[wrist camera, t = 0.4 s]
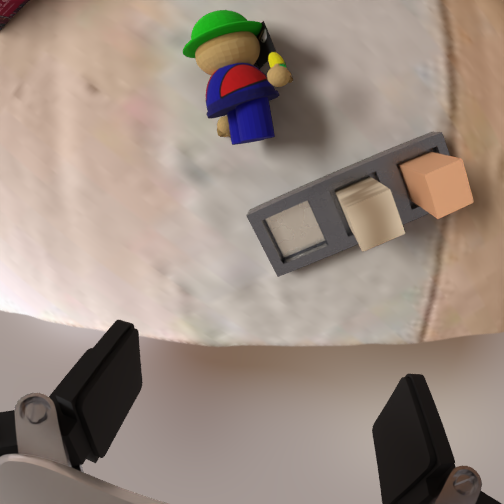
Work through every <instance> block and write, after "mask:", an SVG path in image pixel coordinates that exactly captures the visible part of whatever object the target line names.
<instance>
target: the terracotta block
mask: <svg viewBox="0 0 504 504" xmlns="http://www.w3.org/2000/svg"><path fill="white" fill-rule="evenodd" d="M398 167H399V169H400V172H401V175H402V177H403V180H404V183H405V186H406V189H407V192H408V195H409V198H410V200H411V201H412V202H414V203H415V204H417V205H418V206H420V207H421V208H423V209H424V210H426V211H427V212H428V213H430V214H431V215H433V216H434V217H436V218H437V219H439V218H441V217H443V216H446V215H448V214H450V213H452V212H454V211H457V210H459V209H461V208H463V207H465V206H467V205H469V204H472V203H474V201H473V197H472V193H471V189H470V185H469V181H468V178H467V174H466V171H465V167H464V164H463V160H462V159H461V158H457V157H452V156H448V155H443V154H439V153H434V152H427V153H425V154H422V155H420V156H418V157H415V158H413V159H410V160H408V161H405V162H403V163H401V164H398Z"/></svg>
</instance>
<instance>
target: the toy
mask: <svg viewBox="0 0 504 504" xmlns="http://www.w3.org/2000/svg"><path fill="white" fill-rule="evenodd" d="M183 54H184V55H185V56H186V57H190V58H196V62H197V64H198V66H199V67H200V68H201V69H202V70H203V71H204V72H206V73H207V74H209V75H212V76H211V77H210V80H209V82H208V85H207V89H206V105H207V110H208V112H207V116H208V118H216V117H220V116H223V117H221V118H220V119H219V120H218V123H217V127H218V128H217V133H218V136H220V137H227V136H229V137H230V136H231V141H232V145H235V144H242V143H249V142H255V141H260V140H264V139H267V138H272V137H275V135H274V129H273V123H272V117H271V111H270V106H269V101H270V100H273V99H275V98H277V97H278V96H279V93H278V91H277V90H275V89H274V87H273V86H276V87H281V86H284V85H286V84H287V83H291V82H292V81H293V78H292V77H291V73H290V72H289V71H288V69H287V68H286V64H285V62H284V60H283V58H282V57H281V56H280V55H279V54H278V53H276V50H275V48H274V45H273V43H272V40H271V38H270V35H269V33H268V30H267V28H266V26H265V23H264V21H263V22H262V23H260V22H255V21H247V19H246V18H244V17H243V16H242V15H240V14H239V13H236V12H233V11H228V10H220V11H214V12H211V13H209V14H207V15H205V16H203V17H202V18H201V19H200V20H199V21H198V22H197V23H196V24H195V26H194V28H193V31H192V35H191V40H190V41H189V42H188V43H187V44H186V45H185V47H184V49H183ZM267 61H269V65H270V68H271V69H270V70H269V71H268V73H267V76H266V75H265V74H264V73H263V72H262V71H261V70H259V69H260V68H261V67H262V66H263V65H264V64H265V63H266V62H267ZM255 62H256V63H257V66H258V68H259V69H258V68H257V67H255V66H253V65H254V63H255ZM225 115H227V116H225Z"/></svg>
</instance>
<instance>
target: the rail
mask: <svg viewBox="0 0 504 504" xmlns="http://www.w3.org/2000/svg"><path fill="white" fill-rule="evenodd" d="M427 152H434V153H439V154H443V155H448V156H450V154H449V151H448V148H447V145H446V143H445V140H444V137H443V134H442V132H431V133H428V134H426V135H423V136H420V137H418V138H415V139H413V140H410V141H408V142H405V143H403V144H400V145H398V146H395V147H393V148H391V149H388V150H386V151H383V152H381V153H378V154H376V155H373V156H371V157H369V158H366V159H364V160H361V161H359V162H357V163H354V164H352V165H350V166H347V167H345V168H343V169H340V170H338V171H336V172H333V173H331V174H329V175H326V176H324V177H322V178H319V179H317V180H315V181H313V182H310V183H308V184H306V185H303V186H301V187H299V188H297V189H294V190H292V191H290V192H288V193H286V194H283V195H281V196H279V197H277V198H274V199H272V200H270V201H268V202H266V203H263V204H261V205H259V206H257V207H255V208H253V209H250V210H249V212H248V214H247V218H248V220H249V221H250V223H251V225H252V227H253V229H254V231H255V233H256V235H257V237H258V239H259V241H260V243H261V245H262V247H263V249H264V251H265V253H266V255H267V257H268V259H269V261H270V263H271V264H272V266H273V268H274V270H275V272H276V274H277V276H278V277H279V276H281V275H284V274H286V273H289V272H291V271H294V270H296V269H299V268H301V267H304V266H306V265H309V264H311V263H314V262H316V261H318V260H321V259H323V258H326V257H328V256H331V255H333V254H335V253H338V252H340V251H343V250H345V249H347V248H350V247H352V246H355V245H357V244H358V242H357V240H356V238H355V236H354V234H353V233H352V231H351V229H350V227H349V225H348V222H347V220H346V217H345V215H344V212H343V210H342V208H341V205H340V203H339V200H338V198H337V196H336V193H335V191H337V190H339V189H341V188H344V187H346V186H348V185H351V184H353V183H355V182H358V181H360V180H362V179H365V178H367V177H372V178H373V179H375V180H377V181H378V182H380V183H381V184H383V185H384V186H386V187H388V188H389V189H390V190H391V193H392V196H393V198H394V201H395V204H396V207H397V210H398V213H399V216H400V219H401V222H402V225H404V224H406V223H408V222H410V221H413V220H415V219H417V218H420V217H422V216H424V215H426V214H429V213H428V212H427V211H426V210H424V209H423V208H421V207H420V206H418V205H417V204H415V203H414V202H412V201H411V200H410V198H409V195H408V192H407V189H406V186H405V183H404V180H403V177H402V175H401V172H400V169H399V167H398V164H401V163H403V162H405V161H408V160H410V159H413V158H415V157H418V156H420V155H422V154H425V153H427Z"/></svg>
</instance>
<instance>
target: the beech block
mask: <svg viewBox="0 0 504 504" xmlns="http://www.w3.org/2000/svg"><path fill="white" fill-rule="evenodd" d="M335 193H336V196H337V198H338V200H339V203H340V205H341V208H342V210H343V212H344V215H345V217H346V220H347V222H348V225H349V227H350V229H351V231H352V233H353V234H354V236H355V238H356V240H357V242H358V244H359V246H360V248H361V250H362V252H364V251H366V250H368V249H371V248H373V247H375V246H378V245H380V244H382V243H385V242H387V241H389V240H392V239H394V238H396V237H399V236H401V235H403V234H405V231H404V228H403V225H402V222H401V219H400V216H399V213H398V210H397V207H396V204H395V201H394V198H393V196H392V193H391V190H390V189H389V188H388V187H386V186H384V185H383V184H381V183H380V182H378V181H377V180H375V179H373V178H372V177H367V178H365V179H362V180H360V181H358V182H355V183H353V184H351V185H348V186H346V187H344V188H341V189H339V190H337V191H335Z"/></svg>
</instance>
